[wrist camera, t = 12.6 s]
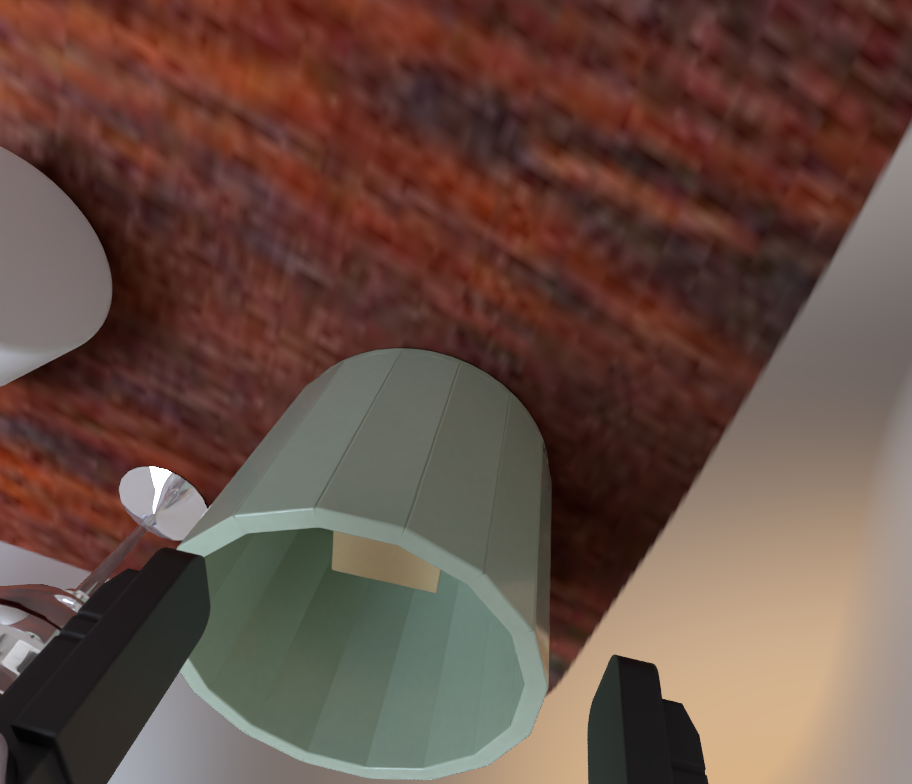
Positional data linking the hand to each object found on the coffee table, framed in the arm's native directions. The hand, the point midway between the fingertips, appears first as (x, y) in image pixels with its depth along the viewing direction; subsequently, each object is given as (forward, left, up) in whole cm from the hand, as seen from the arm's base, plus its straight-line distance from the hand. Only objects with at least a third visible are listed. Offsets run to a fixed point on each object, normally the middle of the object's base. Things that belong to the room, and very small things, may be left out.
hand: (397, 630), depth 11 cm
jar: (+2, +7, -14) cm, 16 cm away
